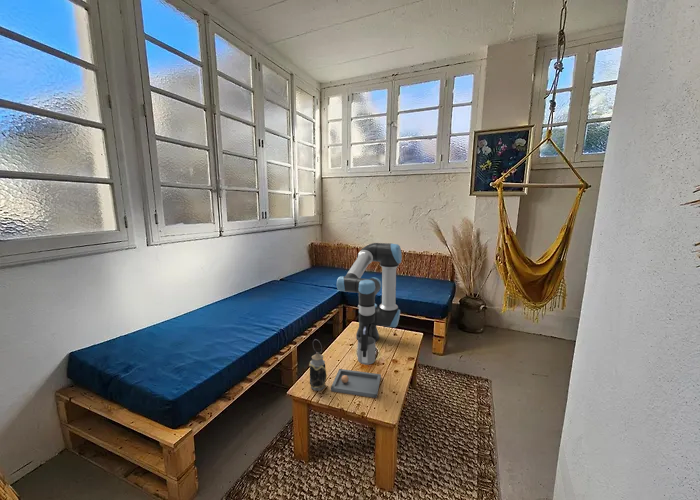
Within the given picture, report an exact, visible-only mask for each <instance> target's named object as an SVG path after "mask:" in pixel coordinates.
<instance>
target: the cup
mask: <svg viewBox="0 0 700 500" xmlns="http://www.w3.org/2000/svg"><path fill="white" fill-rule="evenodd" d="M361 338H362V337H360V338H359V339H358V340H357V361H358V363H360V364H361V365H367V366H368V365H371V364H374V362H375V361H376V342H375V339H374V338H372V337H368V346H367V349H368V363H363V362H362V351H361V350H360V349H361Z"/></svg>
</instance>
